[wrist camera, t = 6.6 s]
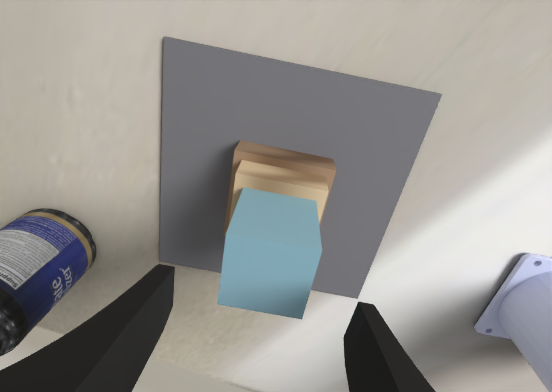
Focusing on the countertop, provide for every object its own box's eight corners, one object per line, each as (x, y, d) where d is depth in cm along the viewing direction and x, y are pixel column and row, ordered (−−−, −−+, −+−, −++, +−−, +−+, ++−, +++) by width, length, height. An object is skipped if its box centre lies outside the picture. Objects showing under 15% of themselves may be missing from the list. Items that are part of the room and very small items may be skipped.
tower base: (332, 158, 20) (336, 170, 18) (310, 235, 23) (312, 252, 21) (240, 140, 20) (234, 150, 18) (229, 219, 22) (223, 235, 21)
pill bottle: (85, 281, 26) (-41, 424, 17) (13, 247, 25) (-168, 378, 15) (109, 231, 24) (-22, 365, 14) (31, 190, 23) (-172, 305, 13)
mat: (439, 93, 18) (442, 94, 18) (356, 295, 25) (357, 298, 25) (165, 36, 18) (163, 36, 17) (160, 258, 25) (159, 261, 25)
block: (316, 200, 17) (322, 251, 13) (300, 259, 19) (301, 319, 15) (243, 187, 17) (225, 233, 13) (235, 247, 19) (217, 304, 15)
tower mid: (325, 176, 18) (328, 191, 17) (306, 245, 21) (307, 264, 19) (241, 159, 18) (235, 172, 16) (231, 230, 20) (225, 249, 19)
